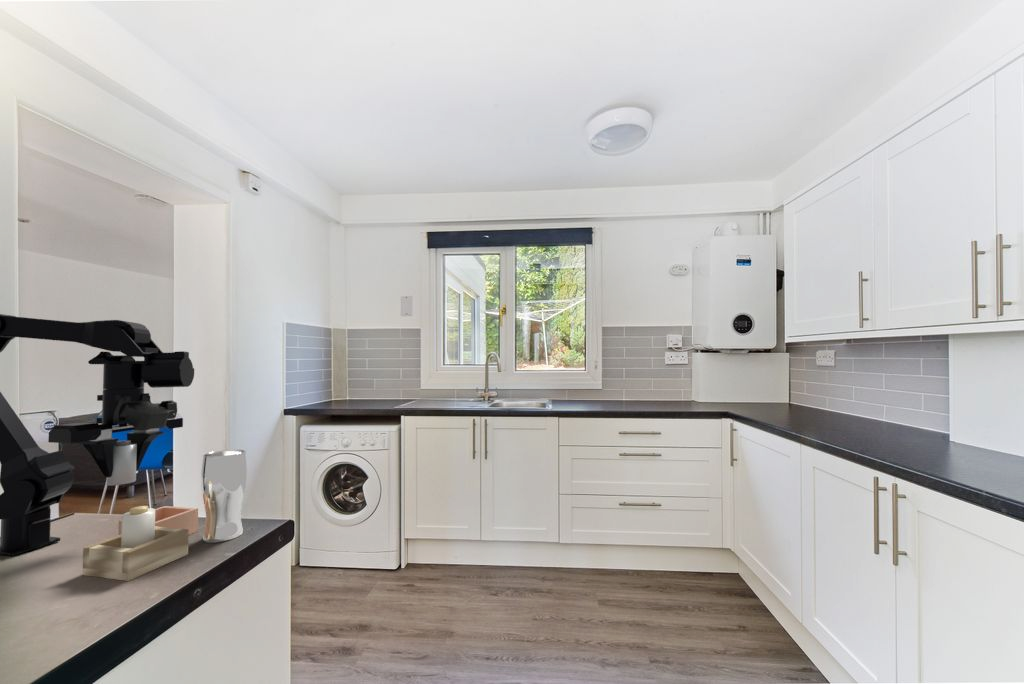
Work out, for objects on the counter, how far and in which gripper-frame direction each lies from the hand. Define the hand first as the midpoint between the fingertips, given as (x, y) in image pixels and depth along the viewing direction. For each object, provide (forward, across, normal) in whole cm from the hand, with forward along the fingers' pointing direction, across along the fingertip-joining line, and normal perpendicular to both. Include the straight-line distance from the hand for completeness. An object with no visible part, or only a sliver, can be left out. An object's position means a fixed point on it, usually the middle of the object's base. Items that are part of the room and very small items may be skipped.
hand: (121, 474), depth 79 cm
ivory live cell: (+10, -8, -15) cm, 20 cm away
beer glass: (+12, +4, -18) cm, 22 cm away
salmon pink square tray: (+12, +2, -7) cm, 14 cm away
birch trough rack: (+12, -8, -15) cm, 20 cm away
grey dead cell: (+2, 0, 0) cm, 2 cm away
